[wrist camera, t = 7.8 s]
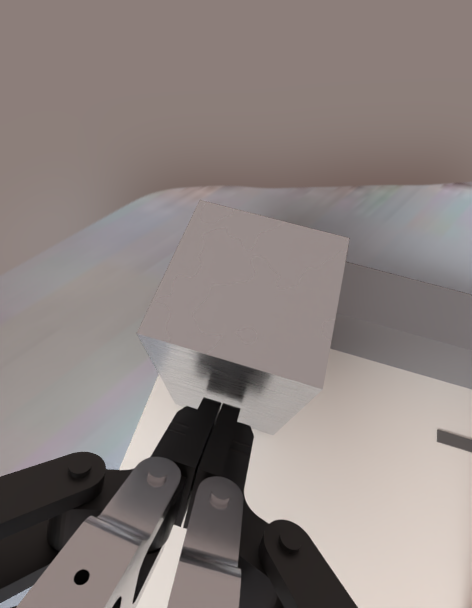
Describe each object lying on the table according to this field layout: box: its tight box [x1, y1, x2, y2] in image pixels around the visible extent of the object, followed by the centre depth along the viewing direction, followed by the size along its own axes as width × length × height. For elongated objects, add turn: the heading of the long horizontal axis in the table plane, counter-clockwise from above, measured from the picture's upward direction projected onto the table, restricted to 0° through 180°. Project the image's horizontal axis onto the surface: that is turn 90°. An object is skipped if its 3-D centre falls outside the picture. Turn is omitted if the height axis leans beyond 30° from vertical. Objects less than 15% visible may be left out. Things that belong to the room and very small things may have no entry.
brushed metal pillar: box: [137, 200, 350, 435], centre depth 14 cm, size 5×5×9 cm
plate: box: [119, 262, 472, 608], centre depth 14 cm, size 22×22×6 cm
